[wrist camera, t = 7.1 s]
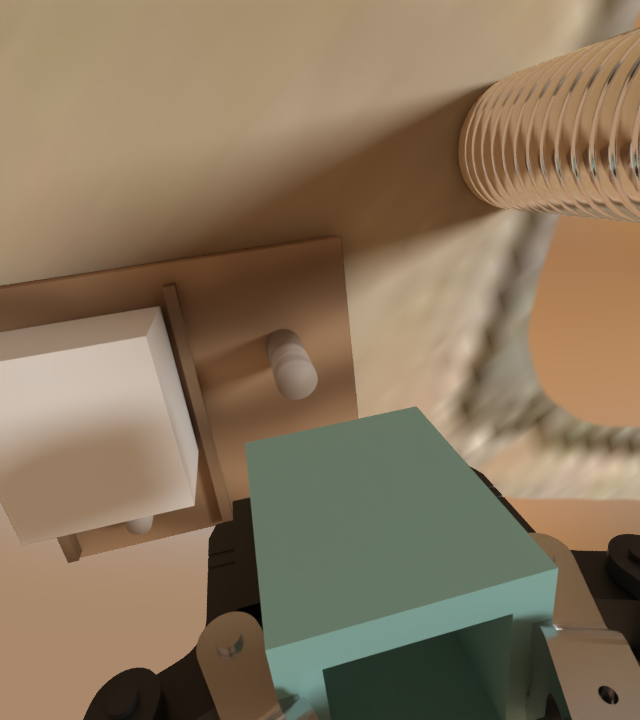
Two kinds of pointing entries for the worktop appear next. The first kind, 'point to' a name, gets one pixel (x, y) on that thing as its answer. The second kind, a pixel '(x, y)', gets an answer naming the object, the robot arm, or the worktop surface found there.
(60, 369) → the white rectangular block
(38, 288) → the board
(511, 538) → the sleeve
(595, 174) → the water bottle
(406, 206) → the worktop surface
